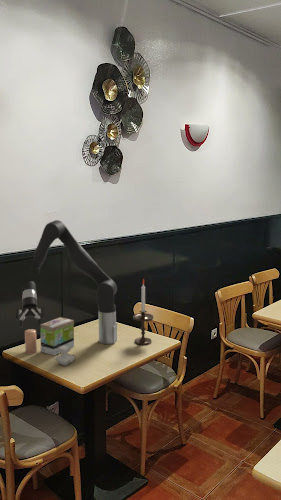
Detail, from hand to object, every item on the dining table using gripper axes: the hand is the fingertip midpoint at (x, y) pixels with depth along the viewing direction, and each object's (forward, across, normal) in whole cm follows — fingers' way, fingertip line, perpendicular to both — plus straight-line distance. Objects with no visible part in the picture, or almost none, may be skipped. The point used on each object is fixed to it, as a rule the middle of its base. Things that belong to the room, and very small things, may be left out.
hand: (30, 327), depth 240 cm
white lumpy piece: (+25, +16, -9) cm, 31 cm away
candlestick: (+12, +59, +4) cm, 60 cm away
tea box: (+12, +14, +4) cm, 18 cm away
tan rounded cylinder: (+12, 0, +3) cm, 13 cm away
